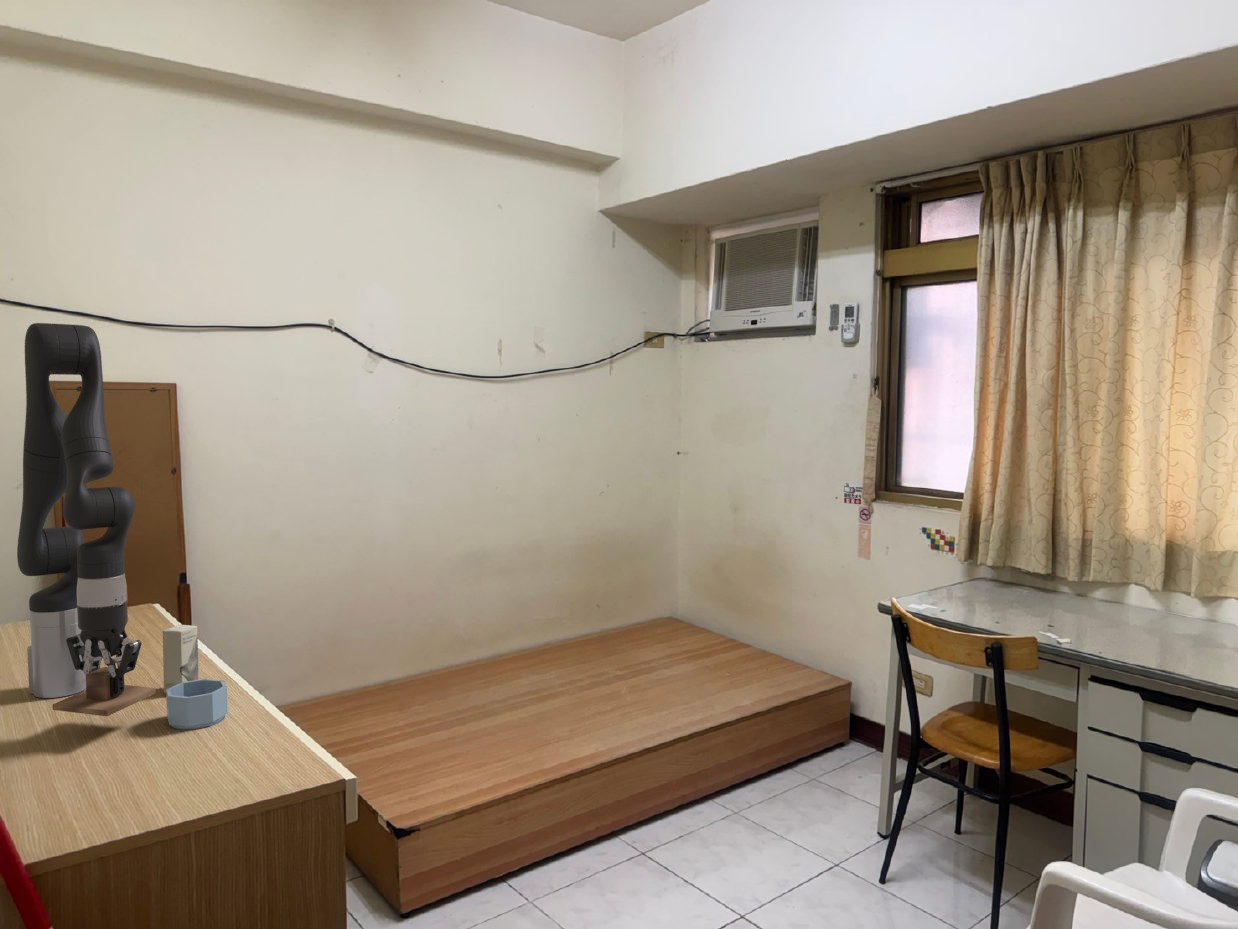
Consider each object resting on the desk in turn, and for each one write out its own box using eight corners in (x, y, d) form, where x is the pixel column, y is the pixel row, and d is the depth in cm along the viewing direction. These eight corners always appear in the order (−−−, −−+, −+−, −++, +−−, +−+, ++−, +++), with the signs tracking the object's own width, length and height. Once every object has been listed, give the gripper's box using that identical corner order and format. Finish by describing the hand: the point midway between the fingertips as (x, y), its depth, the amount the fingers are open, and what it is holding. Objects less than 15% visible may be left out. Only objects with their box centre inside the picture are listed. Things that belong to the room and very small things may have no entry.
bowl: (155, 727, 149) (154, 695, 149) (193, 708, 159) (192, 677, 158) (202, 732, 147) (201, 699, 147) (237, 712, 157) (236, 681, 156)
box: (182, 695, 165) (180, 632, 164) (163, 693, 166) (160, 630, 165) (200, 686, 171) (198, 625, 170) (181, 684, 171) (179, 623, 170)
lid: (52, 709, 143) (51, 679, 143) (104, 687, 154) (103, 659, 153) (107, 716, 141) (106, 685, 140) (155, 693, 152) (154, 664, 151)
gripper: (49, 602, 143) (53, 698, 145) (120, 608, 141) (123, 706, 142) (85, 592, 151) (88, 683, 152) (153, 597, 148) (155, 690, 150)
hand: (105, 693), depth 147 cm, fingers closed on lid, 4 cm apart
